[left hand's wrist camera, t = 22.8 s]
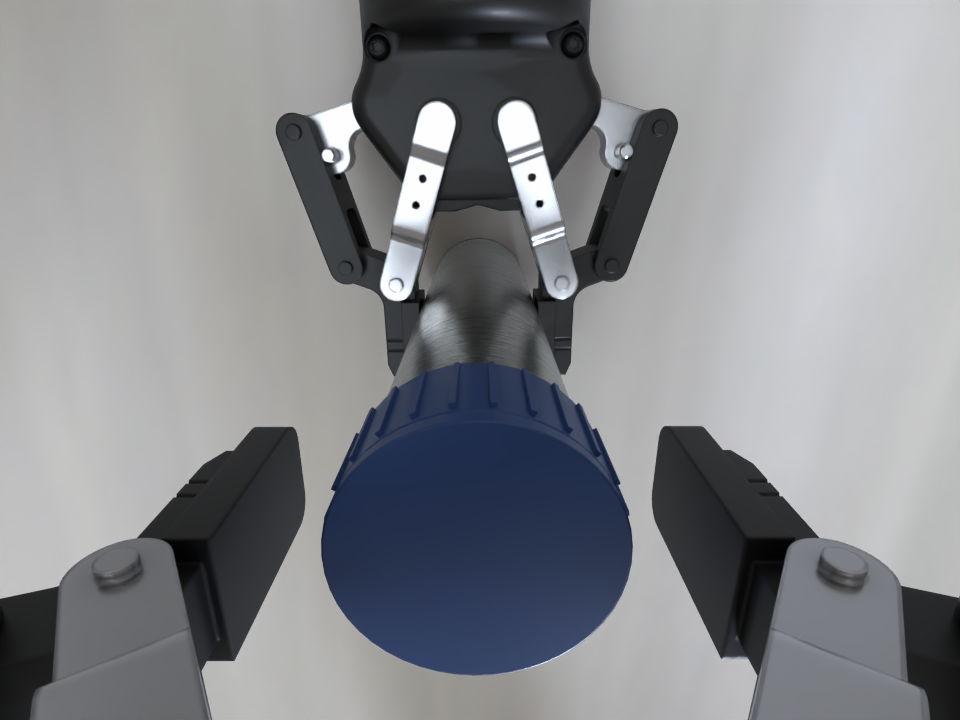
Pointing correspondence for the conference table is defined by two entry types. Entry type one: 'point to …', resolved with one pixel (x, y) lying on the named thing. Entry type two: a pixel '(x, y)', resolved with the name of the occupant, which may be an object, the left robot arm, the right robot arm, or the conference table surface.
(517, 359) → the metal bottle
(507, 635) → the lid
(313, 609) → the conference table surface
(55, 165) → the conference table surface
